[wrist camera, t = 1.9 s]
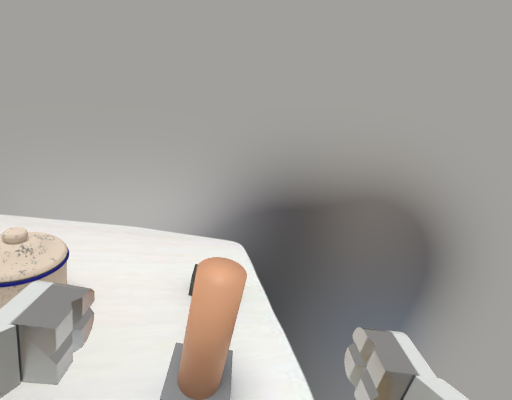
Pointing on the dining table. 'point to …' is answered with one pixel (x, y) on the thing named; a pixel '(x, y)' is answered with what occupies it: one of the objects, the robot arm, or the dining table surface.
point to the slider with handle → (207, 334)
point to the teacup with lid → (29, 261)
